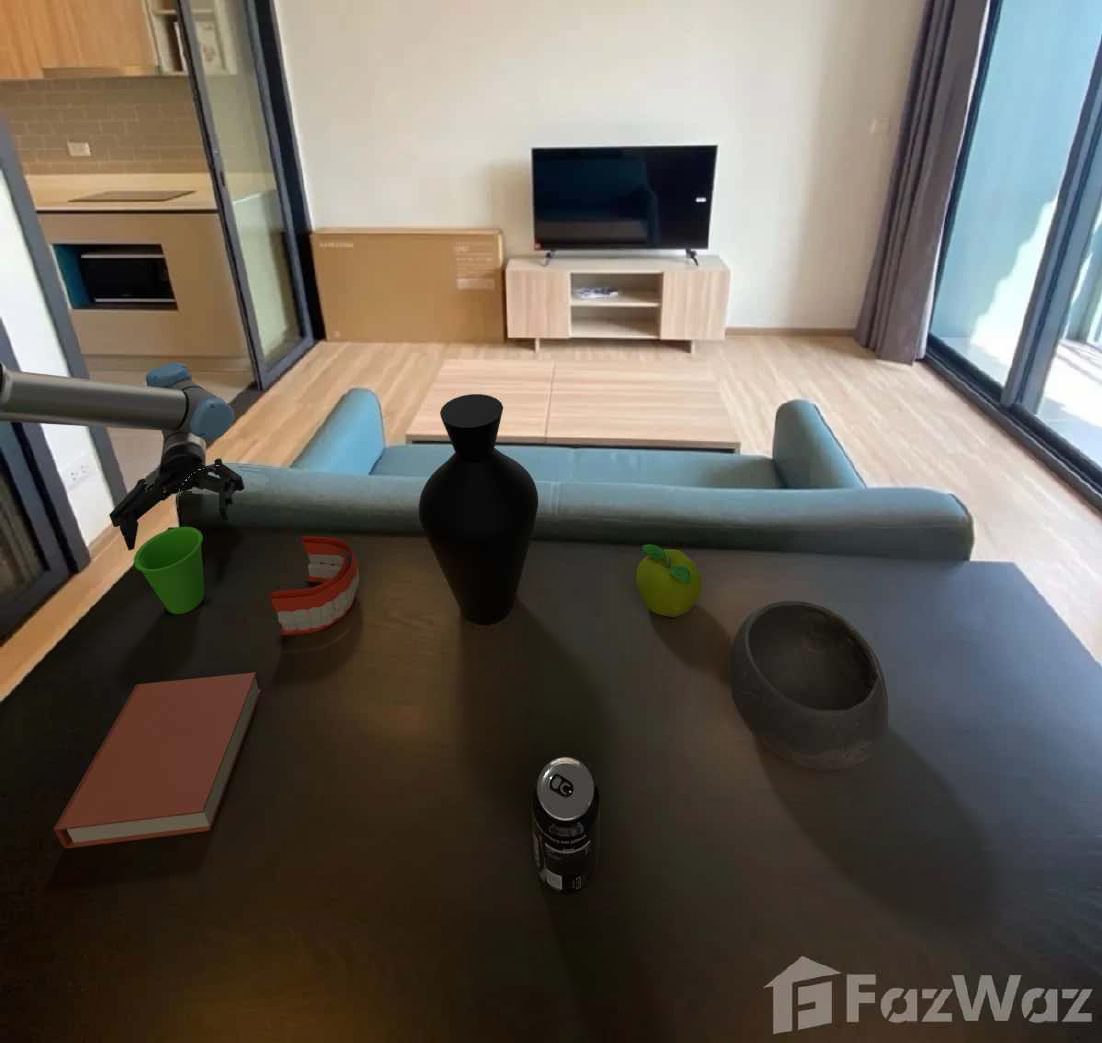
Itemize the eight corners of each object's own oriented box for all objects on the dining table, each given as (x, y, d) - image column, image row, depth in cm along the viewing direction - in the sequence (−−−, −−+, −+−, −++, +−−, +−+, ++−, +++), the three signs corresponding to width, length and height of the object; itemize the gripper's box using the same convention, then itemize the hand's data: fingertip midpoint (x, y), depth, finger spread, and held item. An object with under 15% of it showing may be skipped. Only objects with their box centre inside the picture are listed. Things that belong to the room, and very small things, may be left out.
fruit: (663, 642, 85) (667, 591, 82) (624, 596, 93) (626, 547, 89) (710, 614, 90) (716, 564, 86) (669, 573, 97) (673, 525, 93)
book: (64, 848, 64) (53, 829, 63) (143, 702, 79) (136, 684, 77) (210, 830, 65) (202, 811, 64) (261, 690, 80) (255, 672, 79)
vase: (420, 581, 97) (394, 395, 83) (517, 547, 103) (508, 369, 90) (449, 670, 82) (424, 462, 69) (560, 624, 89) (556, 426, 75)
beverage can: (554, 806, 67) (552, 737, 62) (609, 843, 64) (611, 773, 59) (521, 872, 61) (517, 802, 57) (580, 916, 58) (580, 845, 54)
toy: (348, 639, 87) (339, 599, 84) (278, 639, 87) (267, 599, 84) (372, 572, 99) (366, 534, 96) (311, 572, 99) (302, 535, 96)
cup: (172, 635, 88) (152, 580, 84) (141, 609, 93) (121, 555, 88) (230, 593, 95) (214, 540, 91) (199, 570, 100) (182, 518, 95)
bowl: (907, 744, 72) (930, 673, 67) (811, 837, 64) (830, 763, 59) (785, 634, 86) (797, 569, 82) (694, 698, 78) (702, 629, 73)
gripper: (257, 456, 122) (264, 520, 105) (112, 496, 112) (93, 574, 94) (249, 425, 119) (255, 486, 102) (100, 463, 109) (78, 537, 91)
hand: (177, 528), depth 98 cm, fingers open, 13 cm apart
